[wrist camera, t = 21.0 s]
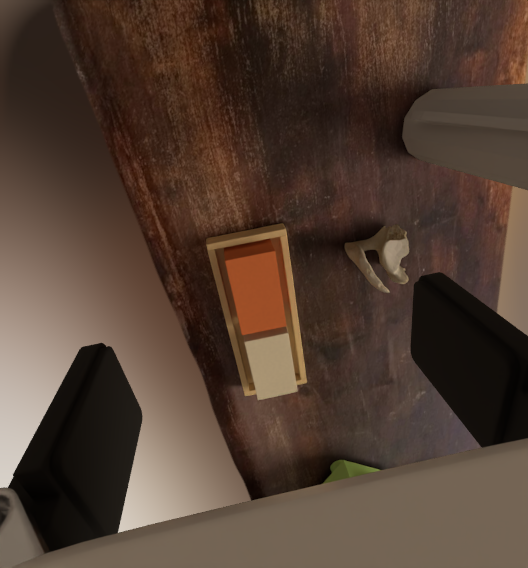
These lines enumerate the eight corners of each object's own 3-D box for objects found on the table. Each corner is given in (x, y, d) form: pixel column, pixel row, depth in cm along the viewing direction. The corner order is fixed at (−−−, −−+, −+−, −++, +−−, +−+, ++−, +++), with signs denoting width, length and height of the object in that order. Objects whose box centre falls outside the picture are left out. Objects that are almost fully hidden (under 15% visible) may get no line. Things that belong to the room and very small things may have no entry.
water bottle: (475, 93, 37) (860, 81, 15) (442, 169, 40) (719, 249, 18) (399, 70, 35) (715, 16, 13) (371, 151, 38) (585, 217, 16)
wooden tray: (206, 238, 40) (205, 244, 39) (282, 223, 41) (286, 228, 39) (243, 385, 52) (245, 396, 50) (303, 372, 52) (306, 382, 50)
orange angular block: (223, 247, 41) (224, 260, 37) (269, 237, 41) (275, 250, 37) (239, 317, 45) (241, 335, 42) (280, 309, 46) (286, 326, 42)
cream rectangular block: (241, 323, 46) (244, 342, 42) (282, 315, 46) (288, 332, 42) (254, 379, 51) (257, 400, 47) (291, 371, 51) (297, 391, 47)
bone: (431, 237, 42) (438, 302, 36) (390, 262, 47) (390, 324, 41) (379, 199, 40) (377, 263, 34) (341, 230, 45) (334, 291, 39)
